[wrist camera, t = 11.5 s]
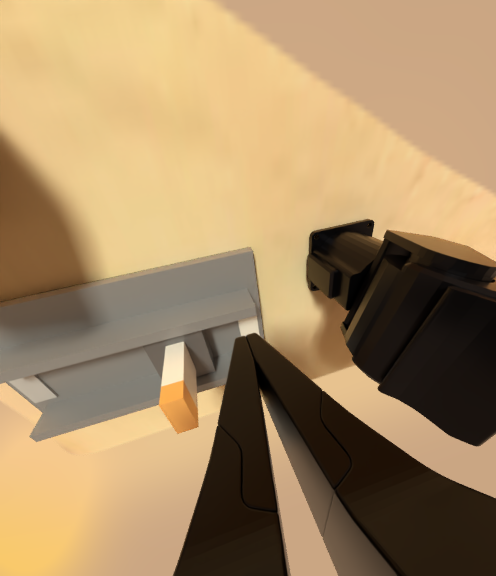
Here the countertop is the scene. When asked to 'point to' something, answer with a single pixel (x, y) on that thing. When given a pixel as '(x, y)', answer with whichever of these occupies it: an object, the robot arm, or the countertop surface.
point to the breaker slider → (181, 375)
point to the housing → (122, 337)
